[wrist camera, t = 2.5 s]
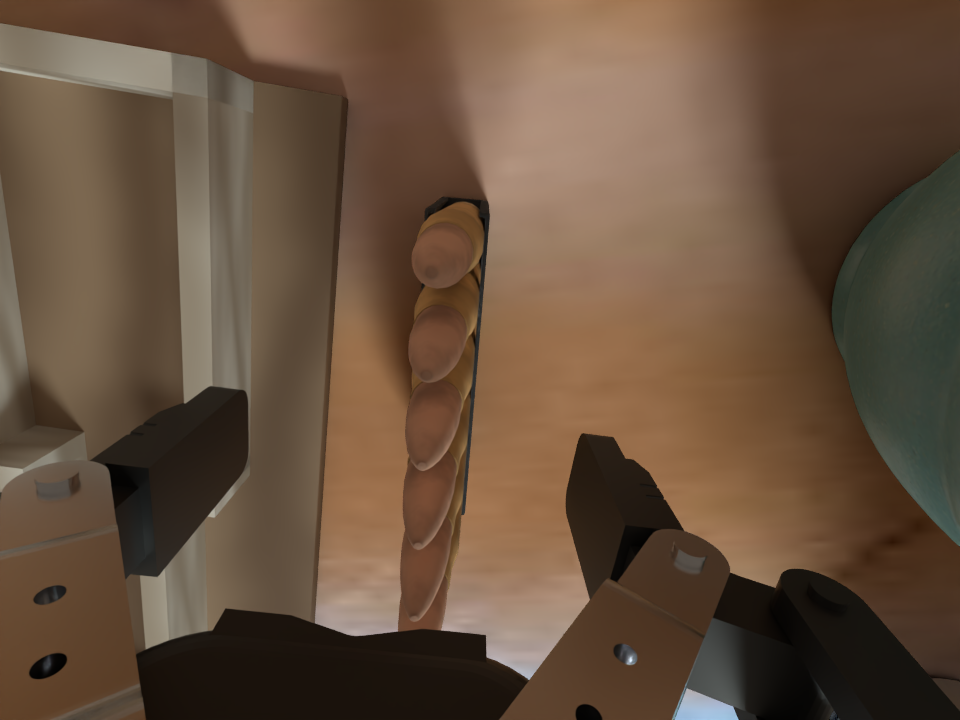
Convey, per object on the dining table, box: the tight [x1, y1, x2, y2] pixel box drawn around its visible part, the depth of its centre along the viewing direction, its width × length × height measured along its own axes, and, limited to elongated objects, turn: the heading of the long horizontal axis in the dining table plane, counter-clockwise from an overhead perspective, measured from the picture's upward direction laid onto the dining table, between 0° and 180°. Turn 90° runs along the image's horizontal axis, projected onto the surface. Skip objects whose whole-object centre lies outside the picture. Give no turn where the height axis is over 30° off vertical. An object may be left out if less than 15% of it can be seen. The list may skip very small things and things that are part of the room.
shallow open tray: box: [0, 23, 348, 654], centre depth 20 cm, size 16×30×4 cm, turn 171°
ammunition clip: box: [398, 197, 490, 632], centre depth 15 cm, size 11×2×12 cm, turn 175°
